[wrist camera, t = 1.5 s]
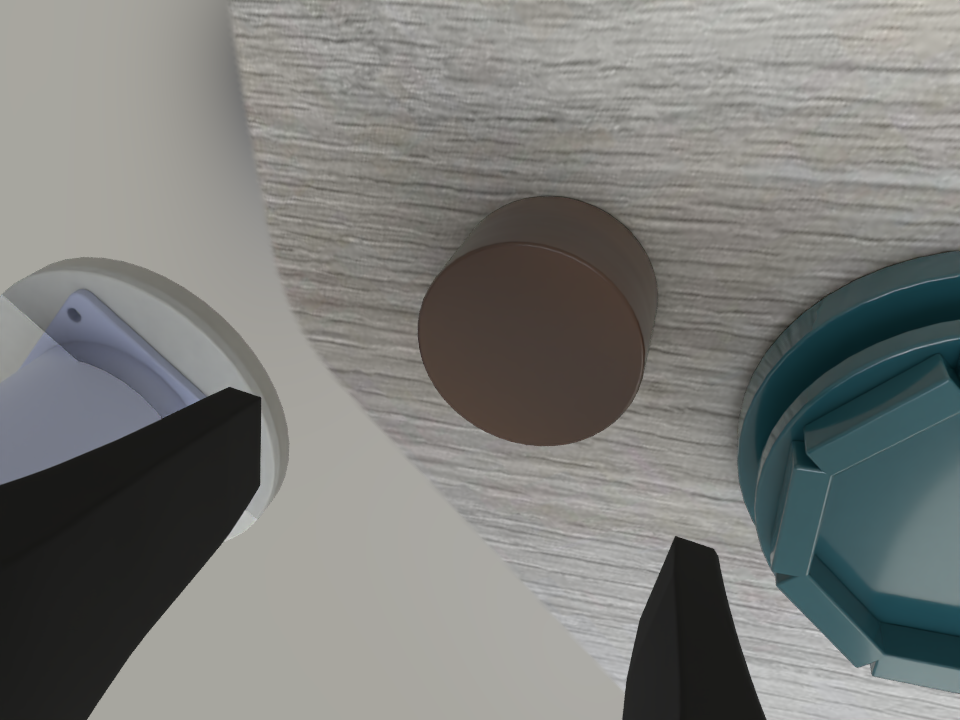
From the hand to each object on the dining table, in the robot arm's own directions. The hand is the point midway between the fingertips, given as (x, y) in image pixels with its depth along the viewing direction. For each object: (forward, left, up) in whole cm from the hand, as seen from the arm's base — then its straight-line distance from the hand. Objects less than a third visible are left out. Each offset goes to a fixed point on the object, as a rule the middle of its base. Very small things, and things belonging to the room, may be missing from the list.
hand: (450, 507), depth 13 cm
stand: (+5, -9, -9) cm, 13 cm away
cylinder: (0, 0, -9) cm, 9 cm away
